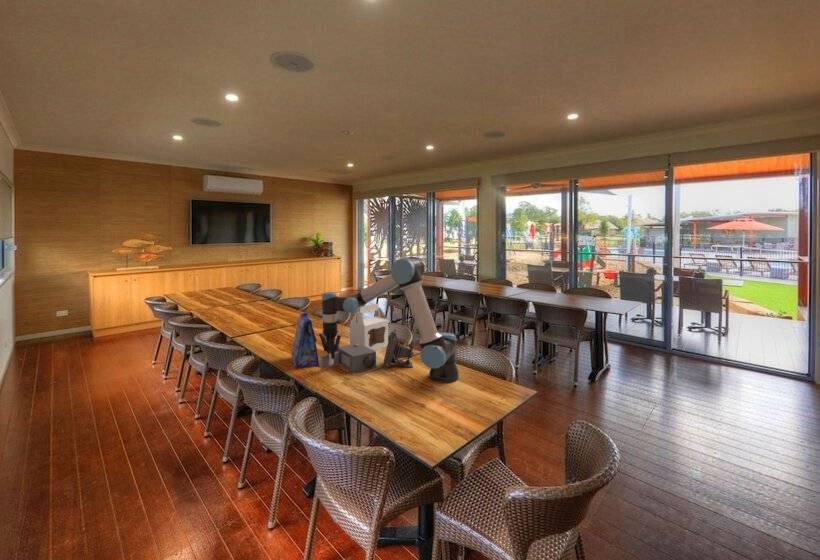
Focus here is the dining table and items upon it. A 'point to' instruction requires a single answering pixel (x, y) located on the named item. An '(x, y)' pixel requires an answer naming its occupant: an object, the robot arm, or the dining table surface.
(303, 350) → the lunch bag
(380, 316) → the gable box
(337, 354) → the side door
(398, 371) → the dining table surface
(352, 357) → the box
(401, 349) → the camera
